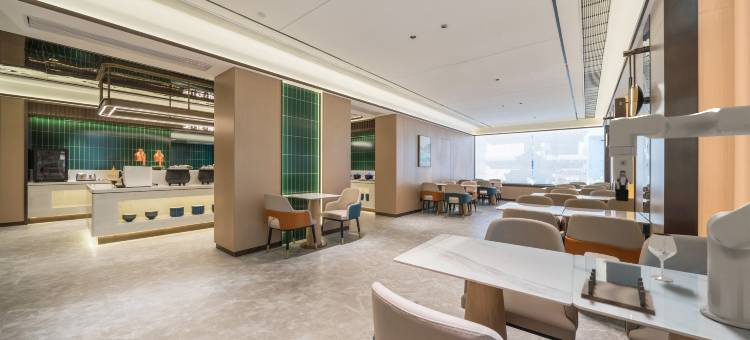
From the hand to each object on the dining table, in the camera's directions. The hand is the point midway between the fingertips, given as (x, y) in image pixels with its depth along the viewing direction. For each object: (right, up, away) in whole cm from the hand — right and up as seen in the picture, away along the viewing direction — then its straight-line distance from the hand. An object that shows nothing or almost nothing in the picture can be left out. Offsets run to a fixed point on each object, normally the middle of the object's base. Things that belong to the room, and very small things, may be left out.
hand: (621, 200), depth 101 cm
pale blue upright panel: (+8, -33, +8) cm, 35 cm away
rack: (-5, -33, -3) cm, 34 cm away
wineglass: (+28, -34, +13) cm, 46 cm away
